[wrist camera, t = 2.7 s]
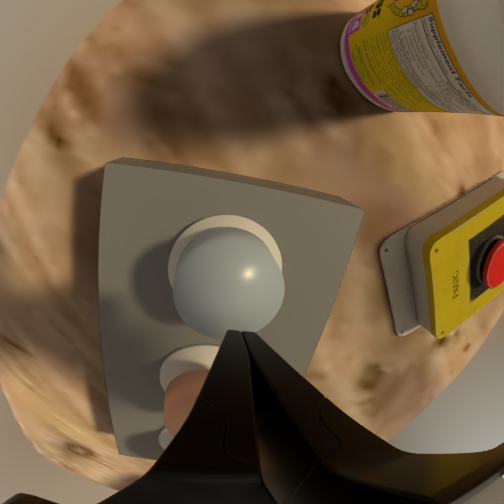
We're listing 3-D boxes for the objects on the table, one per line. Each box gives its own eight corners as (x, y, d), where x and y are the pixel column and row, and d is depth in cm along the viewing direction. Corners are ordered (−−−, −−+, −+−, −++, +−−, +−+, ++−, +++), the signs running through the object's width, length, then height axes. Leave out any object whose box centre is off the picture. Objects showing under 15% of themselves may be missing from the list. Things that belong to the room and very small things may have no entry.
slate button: (262, 320, 15) (269, 342, 13) (171, 310, 14) (168, 332, 12) (285, 235, 13) (297, 250, 12) (183, 219, 12) (180, 232, 11)
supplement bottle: (396, 4, 12) (555, -48, 1) (440, 93, 15) (612, 108, 3) (313, 28, 13) (487, -82, 1) (368, 129, 15) (581, 164, 4)
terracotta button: (238, 422, 16) (242, 445, 14) (164, 416, 15) (162, 441, 14) (254, 372, 15) (260, 398, 13) (166, 364, 14) (164, 391, 12)
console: (255, 438, 24) (261, 467, 21) (123, 427, 22) (118, 456, 19) (339, 196, 17) (367, 211, 14) (123, 157, 14) (103, 163, 11)
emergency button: (536, 273, 18) (421, 369, 18) (506, 255, 22) (393, 336, 22) (540, 177, 14) (410, 268, 15) (502, 166, 18) (372, 240, 19)
